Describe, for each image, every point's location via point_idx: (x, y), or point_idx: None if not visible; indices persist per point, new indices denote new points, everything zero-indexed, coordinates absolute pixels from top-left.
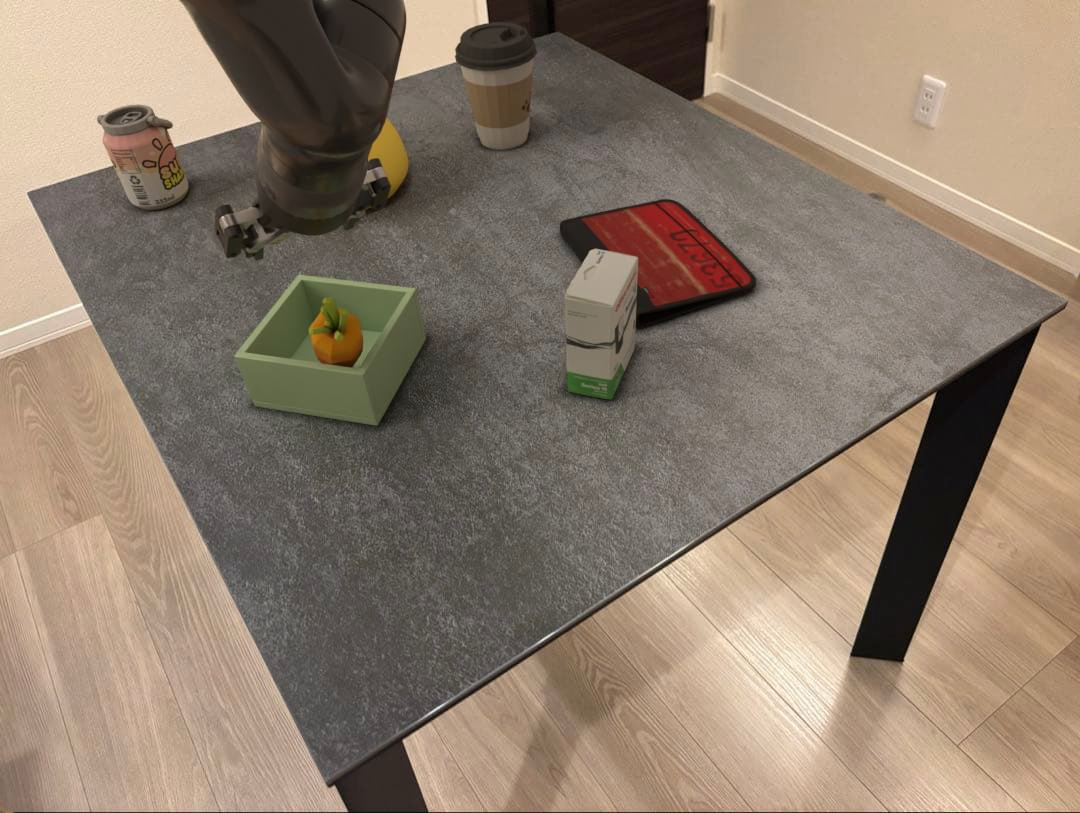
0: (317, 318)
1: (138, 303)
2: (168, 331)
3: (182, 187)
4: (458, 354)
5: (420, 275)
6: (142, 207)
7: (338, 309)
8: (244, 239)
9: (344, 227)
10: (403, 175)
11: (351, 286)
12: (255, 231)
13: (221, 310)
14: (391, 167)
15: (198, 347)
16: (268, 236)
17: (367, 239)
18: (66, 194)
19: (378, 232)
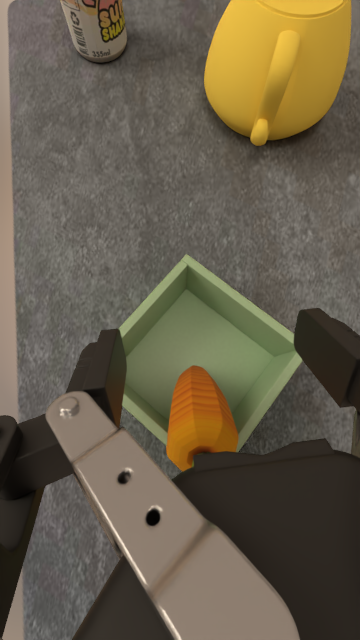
0: (184, 432)
1: (47, 180)
2: (61, 230)
3: (119, 43)
4: (306, 395)
5: (298, 259)
6: (82, 54)
7: (218, 430)
8: (58, 469)
9: (297, 346)
10: (325, 113)
11: (238, 303)
12: (106, 402)
13: (111, 223)
14: (323, 102)
15: (79, 265)
16: (117, 550)
17: (262, 183)
18: (29, 11)
19: (275, 178)
